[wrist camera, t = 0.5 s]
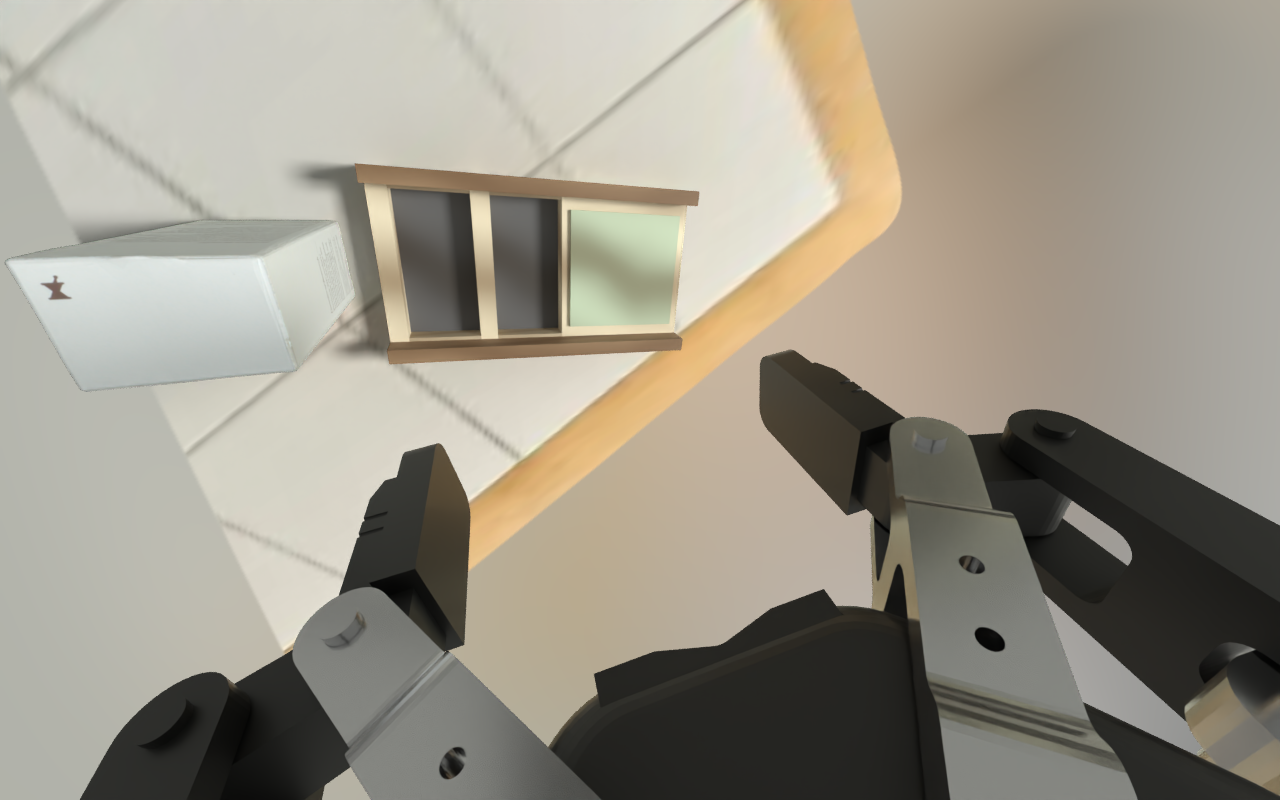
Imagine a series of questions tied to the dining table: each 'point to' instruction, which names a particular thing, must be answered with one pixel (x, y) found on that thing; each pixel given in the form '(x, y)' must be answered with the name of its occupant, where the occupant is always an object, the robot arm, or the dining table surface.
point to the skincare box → (189, 300)
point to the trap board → (523, 264)
